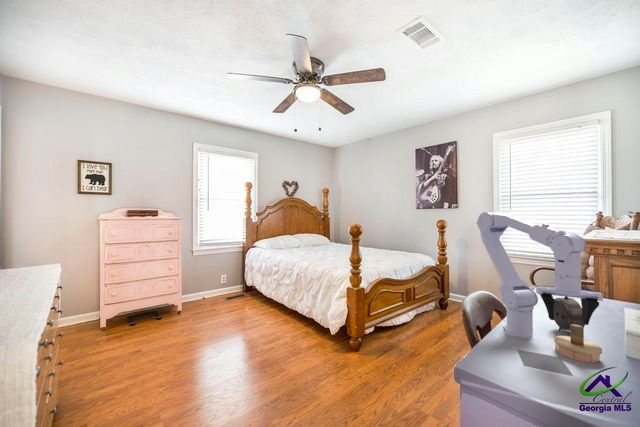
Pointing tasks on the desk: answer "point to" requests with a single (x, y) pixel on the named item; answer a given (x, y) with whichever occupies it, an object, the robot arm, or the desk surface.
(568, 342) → the lid
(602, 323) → the desk surface
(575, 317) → the alarm clock
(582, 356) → the bowl
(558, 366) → the mat
